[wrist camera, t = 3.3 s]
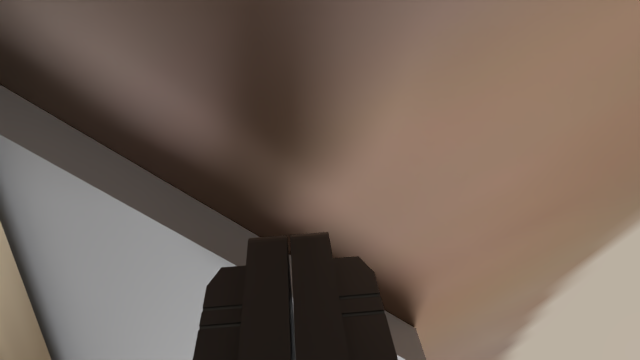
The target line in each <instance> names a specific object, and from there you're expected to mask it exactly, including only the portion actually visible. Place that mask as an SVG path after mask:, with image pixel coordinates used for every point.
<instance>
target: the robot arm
mask: <svg viewBox="0 0 640 360" xmlns="http://www.w3.org/2000/svg"><path fill="white" fill-rule="evenodd" d="M290 242H291V265H292V287H291V275H290V263H289V251H288V240H287V235H286V236H272V237H259V238H249V239H248V246H247V258H246V265H245V266H232V267H221V268H220V270H219V271H218V272H217V274H216V275H215V276H214V277H213V279H212V280H211V281H210V282H209V284H208V285H207V286H206V292H205V297H204V302H203V312H202V313H201V318H200V324H199V330H198V334H197V340H196V345H195V350H194V356H193V360H398V358H397V354H396V350H395V347H394V343H393V340H392V336H391V332H390V329H389V325H388V321H387V318H386V314H385V312H384V307H383V303H382V299H381V297H380V292H379V288H378V285H377V281H376V277H375V274H374V272H373V271H372V270H371V269H370V268H369V267H368V266H367V265H366V264H365V263H364V262H363V261H362V260H361V259H360V258H359V257H358V256H357V257H344V258H333V257H332V251H331V245H330V239H329V234H328V232H323V233H310V234H297V235H290ZM292 288H293V299H292ZM293 310H294V312H293Z"/></svg>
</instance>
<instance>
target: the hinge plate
mask: <svg viewBox="0 0 640 360" xmlns="http://www.w3.org/2000/svg"><path fill="white" fill-rule="evenodd" d="M0 222H1V224H2V227H3V230H4V232H5V235H6V238H7V241H8V243H9V246H10V249H11V251H12V254H13V257H14V260H15V262H16V265H17V268H18V270H19V273H20V276H21V279H22V281H23V284H24V287H25V289H26V292H27V295H28V297H29V300H30V303H31V306H32V308H33V311H34V314H35V316H36V319H37V322H38V325H39V327H40V330H41V333H42V335H43V338H44V341H45V344H46V346H47V349H48V352H49V354H50V357H51V360H193V356H194V350H195V345H196V340H197V334H198V330H199V324H200V318H201V313H202V312H203V302H204V297H205V292H206V286H207V285H208V284H209V282H210V281H211V280H212V279H213V277H214V276H215V275H216V274H217V272H218V271H219V270H220V268H221V267H232V266H245V265H246V258H247V246H248V239H249V238H259V236H257V235H255V234H254V233H252V232H250V231H249V230H247V229H245V228H243V227H242V226H240V225H238V224H237V223H235V222H233V221H231V220H230V219H228V218H226V217H225V216H223V215H221V214H220V213H218V212H216V211H214V210H213V209H211V208H209V207H208V206H206V205H204V204H202V203H201V202H199V201H197V200H196V199H194V198H192V197H191V196H189V195H187V194H185V193H184V192H182V191H180V190H179V189H177V188H175V187H173V186H172V185H170V184H168V183H167V182H165V181H163V180H162V179H160V178H158V177H156V176H155V175H153V174H151V173H150V172H148V171H146V170H145V169H143V168H141V167H139V166H138V165H136V164H134V163H133V162H131V161H129V160H127V159H126V158H124V157H122V156H121V155H119V154H117V153H116V152H114V151H112V150H110V149H109V148H107V147H105V146H104V145H102V144H100V143H98V142H97V141H95V140H93V139H92V138H90V137H88V136H87V135H85V134H83V133H81V132H80V131H78V130H76V129H75V128H73V127H71V126H69V125H68V124H66V123H64V122H63V121H61V120H59V119H58V118H56V117H54V116H52V115H51V114H49V113H47V112H46V111H44V110H42V109H40V108H39V107H37V106H35V105H34V104H32V103H30V102H29V101H27V100H25V99H23V98H22V97H20V96H18V95H17V94H15V93H13V92H12V91H10V90H8V89H6V88H5V87H3V86H1V85H0ZM289 263H290V275H291V287H292V265H291V255H289ZM292 299H293V288H292ZM293 312H294V310H293ZM384 312H385V314H386V318H387V321H388V325H389V329H390V332H391V336H392V340H393V343H394V347H395V350H396V354H397V358H398V360H426V358H425V355H424V352H423V349H422V346H421V343H420V340H419V337H418V334H417V331H416V328H414V327H412V326H410V325H409V324H407V323H405V322H404V321H402V320H400V319H399V318H397V317H395V316H393V315H392V314H390V313H388V312H387V311H385V310H384Z"/></svg>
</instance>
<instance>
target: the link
mask: <svg viewBox="0 0 640 360" xmlns="http://www.w3.org/2000/svg"><path fill="white" fill-rule="evenodd" d="M0 360H51V357H50V354H49V352H48V349H47V346H46V344H45V341H44V338H43V335H42V333H41V330H40V327H39V325H38V322H37V319H36V316H35V314H34V311H33V308H32V306H31V303H30V300H29V297H28V295H27V292H26V289H25V287H24V284H23V281H22V279H21V276H20V273H19V270H18V268H17V265H16V262H15V260H14V257H13V254H12V251H11V249H10V246H9V243H8V241H7V238H6V235H5V232H4V230H3V227H2V224H1V222H0Z"/></svg>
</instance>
